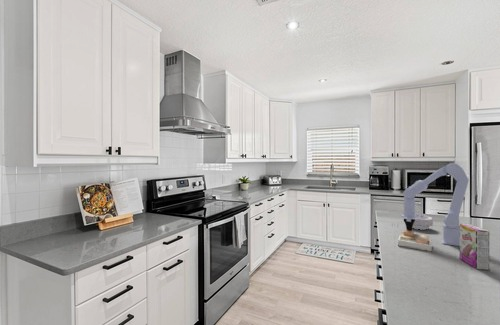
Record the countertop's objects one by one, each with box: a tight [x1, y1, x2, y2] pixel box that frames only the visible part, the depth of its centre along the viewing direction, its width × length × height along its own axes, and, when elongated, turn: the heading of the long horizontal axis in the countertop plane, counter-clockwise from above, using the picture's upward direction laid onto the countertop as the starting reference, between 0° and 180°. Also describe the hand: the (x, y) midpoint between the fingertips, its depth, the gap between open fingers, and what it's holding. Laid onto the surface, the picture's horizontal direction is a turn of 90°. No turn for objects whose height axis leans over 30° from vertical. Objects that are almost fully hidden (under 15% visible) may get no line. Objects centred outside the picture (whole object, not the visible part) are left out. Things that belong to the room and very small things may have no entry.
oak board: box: [400, 231, 430, 243], centre depth 138 cm, size 13×11×2 cm
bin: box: [397, 234, 433, 252], centre depth 129 cm, size 14×12×3 cm
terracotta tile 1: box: [416, 239, 428, 245], centre depth 129 cm, size 5×5×2 cm
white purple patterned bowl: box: [404, 214, 434, 231], centre depth 163 cm, size 15×15×8 cm
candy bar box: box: [459, 223, 490, 271], centre depth 105 cm, size 11×5×16 cm, turn 168°
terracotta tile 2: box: [402, 229, 415, 237], centre depth 141 cm, size 5×5×2 cm
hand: (409, 231), depth 145 cm, fingers closed
